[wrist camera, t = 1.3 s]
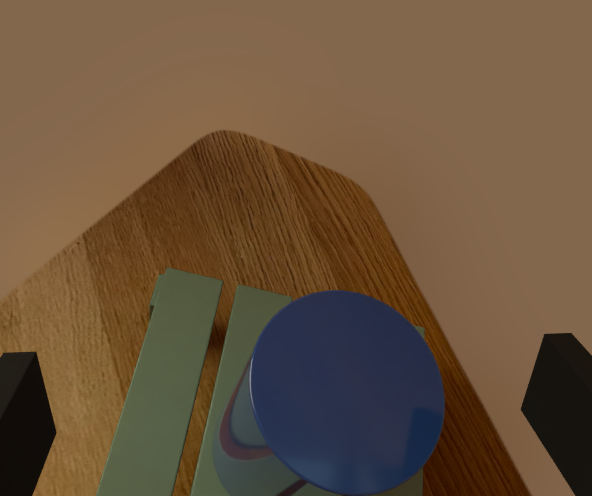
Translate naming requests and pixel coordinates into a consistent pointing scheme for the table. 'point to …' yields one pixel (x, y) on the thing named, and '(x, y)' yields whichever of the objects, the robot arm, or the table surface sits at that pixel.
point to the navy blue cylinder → (330, 402)
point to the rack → (187, 386)
